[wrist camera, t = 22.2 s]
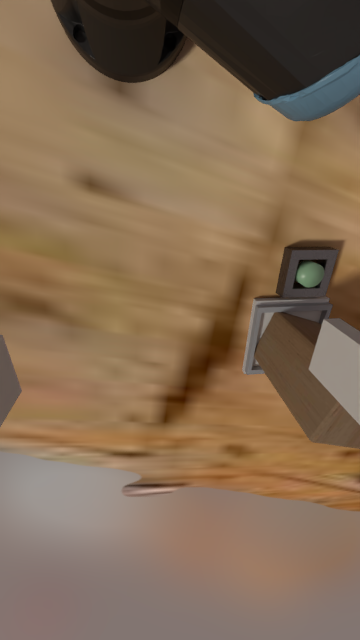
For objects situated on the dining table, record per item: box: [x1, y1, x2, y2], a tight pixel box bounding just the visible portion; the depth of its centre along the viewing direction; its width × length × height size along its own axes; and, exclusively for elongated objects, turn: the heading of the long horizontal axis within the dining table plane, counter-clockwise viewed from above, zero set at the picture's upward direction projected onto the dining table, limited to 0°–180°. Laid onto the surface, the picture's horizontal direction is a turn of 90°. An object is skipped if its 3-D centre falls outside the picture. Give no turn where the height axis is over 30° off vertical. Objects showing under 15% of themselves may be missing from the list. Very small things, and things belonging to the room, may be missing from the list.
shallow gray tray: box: [242, 296, 333, 375], centre depth 50 cm, size 16×14×2 cm
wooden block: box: [254, 312, 360, 449], centre depth 41 cm, size 10×10×20 cm
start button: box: [295, 260, 324, 288], centre depth 43 cm, size 4×4×2 cm
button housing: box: [276, 247, 339, 298], centre depth 44 cm, size 8×8×2 cm
